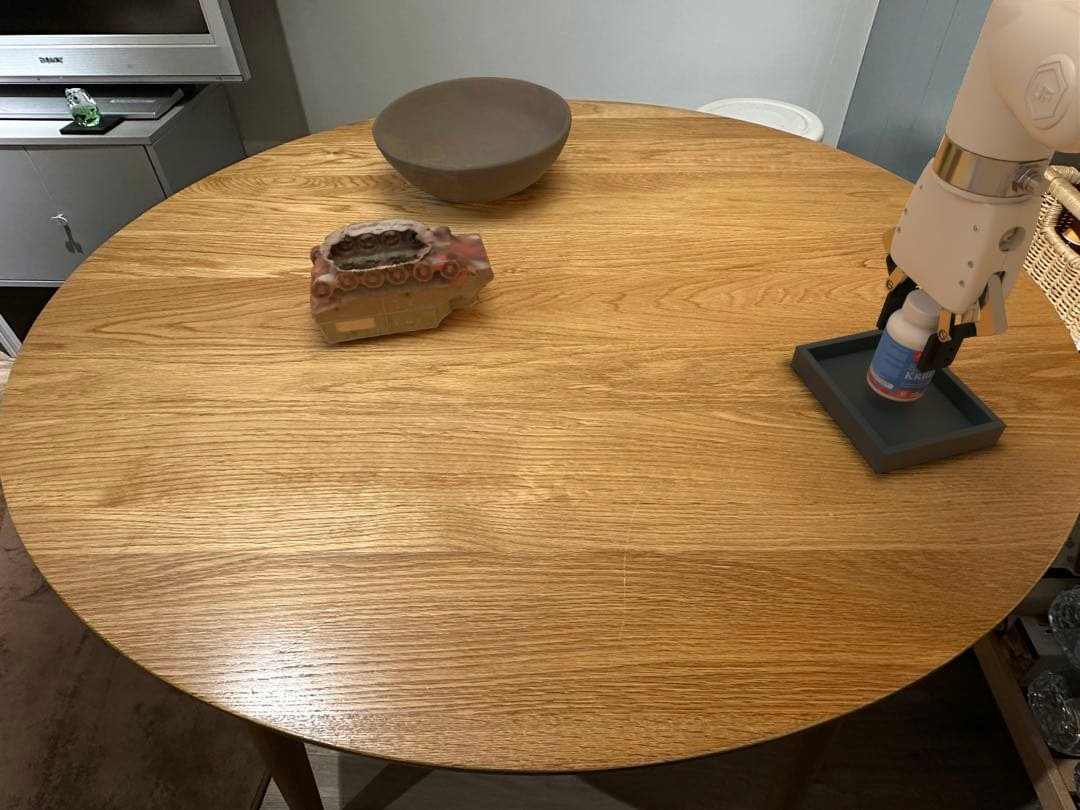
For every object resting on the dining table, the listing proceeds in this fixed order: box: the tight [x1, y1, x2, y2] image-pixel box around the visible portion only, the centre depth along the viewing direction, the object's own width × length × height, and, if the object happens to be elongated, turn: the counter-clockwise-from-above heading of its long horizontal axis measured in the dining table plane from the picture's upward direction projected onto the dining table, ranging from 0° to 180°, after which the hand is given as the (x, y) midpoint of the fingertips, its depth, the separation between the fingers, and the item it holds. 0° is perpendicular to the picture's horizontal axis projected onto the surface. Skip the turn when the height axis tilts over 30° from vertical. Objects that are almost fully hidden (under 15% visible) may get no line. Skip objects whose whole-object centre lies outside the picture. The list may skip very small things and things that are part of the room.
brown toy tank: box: [309, 217, 495, 345], centre depth 84 cm, size 13×20×10 cm, turn 96°
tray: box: [790, 328, 1008, 475], centre depth 75 cm, size 16×13×3 cm
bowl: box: [371, 76, 573, 205], centre depth 105 cm, size 26×26×10 cm
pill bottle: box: [867, 288, 941, 401], centre depth 71 cm, size 6×5×10 cm
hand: (912, 344), depth 71 cm, fingers closed on pill bottle, 5 cm apart
